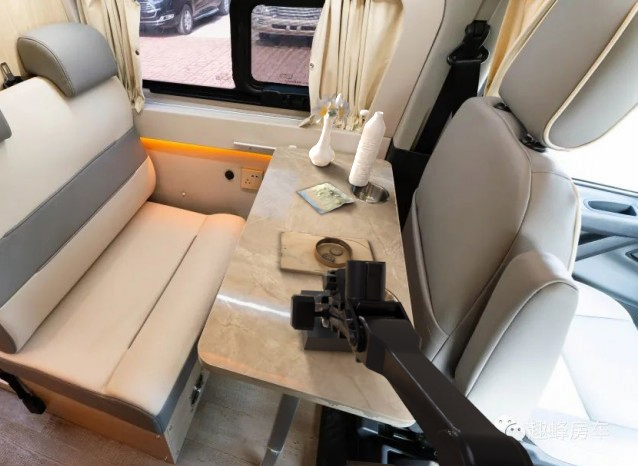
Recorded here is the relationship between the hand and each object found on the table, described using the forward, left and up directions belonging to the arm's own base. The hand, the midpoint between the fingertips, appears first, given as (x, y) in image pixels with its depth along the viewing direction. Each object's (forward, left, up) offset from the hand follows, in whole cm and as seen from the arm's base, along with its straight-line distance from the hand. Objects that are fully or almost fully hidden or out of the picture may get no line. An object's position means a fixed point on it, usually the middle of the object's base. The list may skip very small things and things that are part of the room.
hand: (330, 306), depth 68 cm
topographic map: (+32, -39, -8) cm, 51 cm away
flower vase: (+49, -56, -8) cm, 75 cm away
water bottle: (+32, -55, -8) cm, 64 cm away
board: (+14, -18, -8) cm, 24 cm away
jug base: (0, 0, -7) cm, 7 cm away
